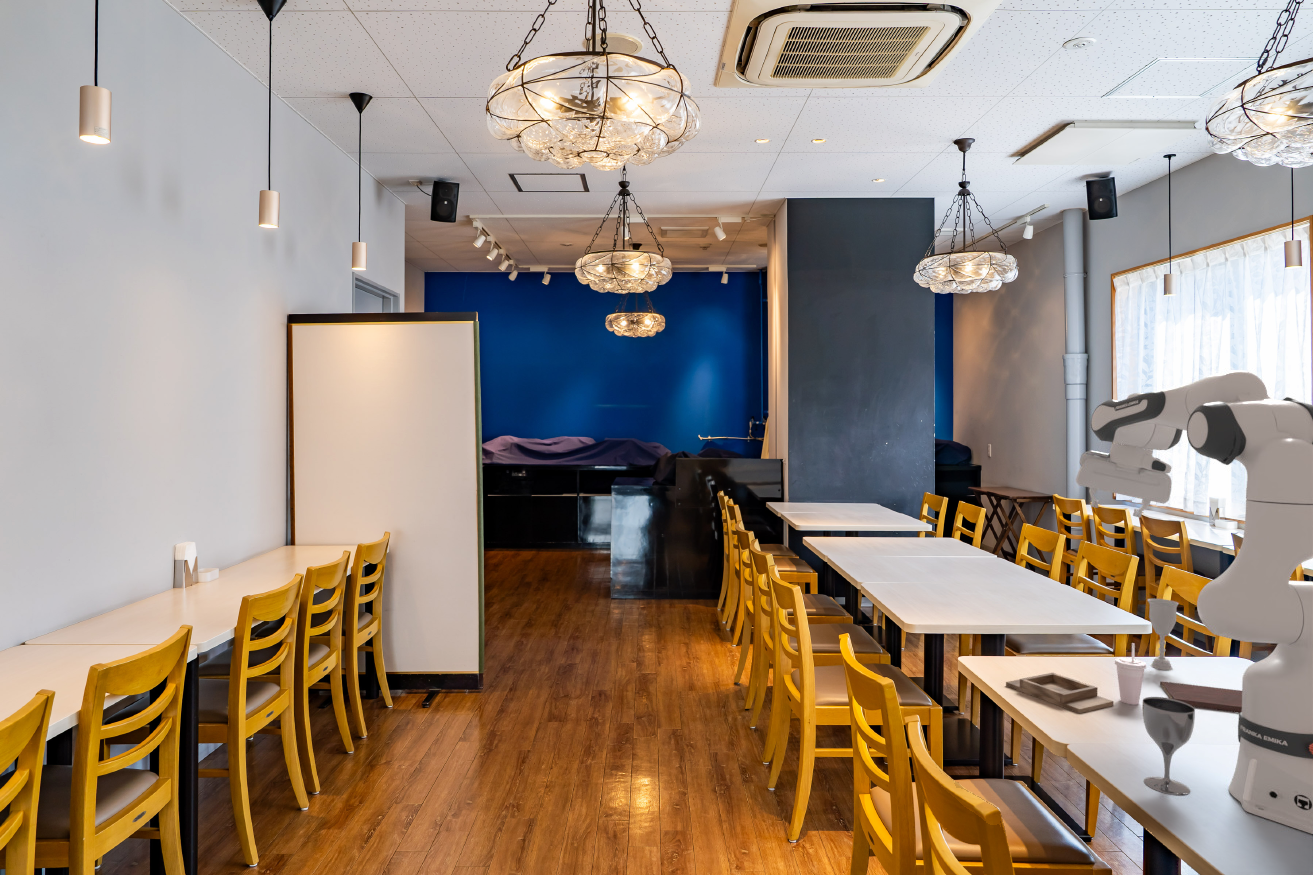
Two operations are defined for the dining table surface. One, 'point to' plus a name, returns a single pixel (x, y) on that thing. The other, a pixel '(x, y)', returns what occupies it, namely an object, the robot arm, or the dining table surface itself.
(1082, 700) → the tray
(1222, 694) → the notebook
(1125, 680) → the smoothie
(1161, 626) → the chalice
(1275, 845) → the dining table surface
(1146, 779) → the wine glass
